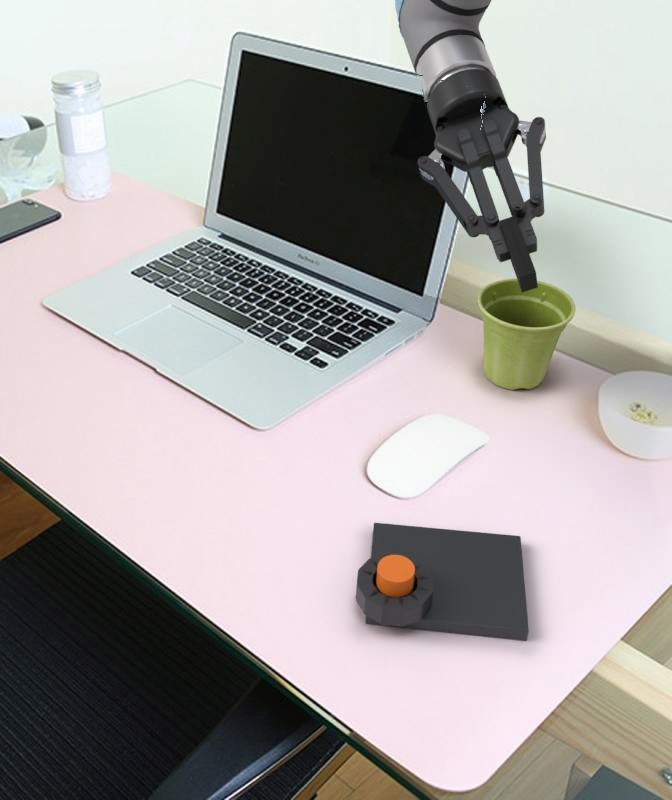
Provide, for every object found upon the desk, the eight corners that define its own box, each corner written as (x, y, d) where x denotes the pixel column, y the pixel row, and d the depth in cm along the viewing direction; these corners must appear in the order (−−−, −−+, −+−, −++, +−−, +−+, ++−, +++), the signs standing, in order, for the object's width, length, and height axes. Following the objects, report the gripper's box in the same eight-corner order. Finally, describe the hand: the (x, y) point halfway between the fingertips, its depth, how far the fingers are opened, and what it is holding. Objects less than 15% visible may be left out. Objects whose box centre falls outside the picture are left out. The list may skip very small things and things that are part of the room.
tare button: (413, 572, 73) (415, 556, 72) (412, 600, 71) (414, 583, 70) (377, 568, 73) (378, 552, 72) (375, 596, 71) (376, 580, 70)
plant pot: (576, 370, 99) (592, 297, 94) (534, 413, 93) (548, 338, 88) (496, 339, 104) (506, 269, 99) (451, 379, 98) (459, 306, 93)
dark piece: (518, 546, 79) (523, 519, 77) (527, 651, 70) (533, 624, 68) (363, 531, 80) (364, 505, 79) (352, 632, 72) (354, 605, 70)
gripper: (527, 96, 99) (600, 281, 89) (406, 138, 102) (463, 323, 91) (522, 44, 93) (600, 237, 82) (393, 91, 95) (453, 284, 85)
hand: (528, 282), depth 87 cm, fingers closed
